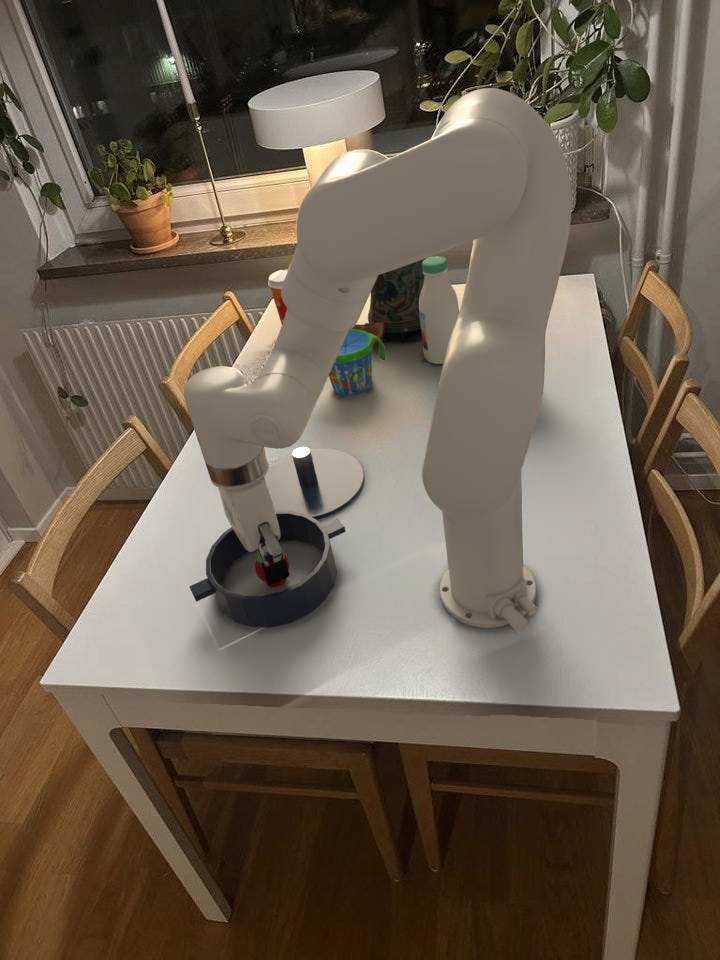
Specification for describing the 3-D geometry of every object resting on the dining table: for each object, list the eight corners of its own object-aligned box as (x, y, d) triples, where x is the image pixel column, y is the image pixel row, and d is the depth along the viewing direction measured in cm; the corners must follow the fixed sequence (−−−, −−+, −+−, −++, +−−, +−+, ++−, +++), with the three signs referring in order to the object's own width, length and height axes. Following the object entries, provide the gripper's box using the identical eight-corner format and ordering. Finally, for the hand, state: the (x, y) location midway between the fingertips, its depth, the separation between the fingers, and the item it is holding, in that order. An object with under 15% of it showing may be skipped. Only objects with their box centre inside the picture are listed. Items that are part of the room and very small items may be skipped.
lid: (384, 493, 118) (378, 457, 113) (280, 541, 112) (269, 505, 108) (335, 440, 131) (327, 407, 127) (239, 481, 126) (228, 447, 122)
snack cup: (378, 364, 150) (371, 319, 144) (400, 386, 142) (393, 339, 136) (307, 389, 147) (296, 344, 141) (326, 413, 139) (315, 366, 133)
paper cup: (284, 326, 171) (271, 269, 162) (316, 324, 169) (304, 266, 161) (277, 343, 165) (262, 284, 156) (310, 340, 163) (297, 281, 155)
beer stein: (447, 338, 154) (436, 219, 139) (355, 350, 157) (335, 234, 141) (442, 304, 167) (431, 192, 152) (357, 315, 170) (338, 206, 154)
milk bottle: (469, 349, 149) (462, 253, 137) (451, 367, 144) (442, 270, 132) (435, 343, 153) (425, 250, 141) (417, 361, 148) (405, 267, 136)
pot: (375, 583, 102) (368, 553, 99) (222, 659, 96) (209, 629, 92) (322, 517, 115) (315, 488, 112) (185, 580, 109) (172, 551, 105)
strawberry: (298, 582, 104) (289, 553, 101) (267, 597, 103) (257, 568, 99) (285, 562, 108) (276, 534, 104) (255, 577, 106) (245, 548, 103)
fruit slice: (346, 352, 156) (342, 331, 153) (352, 337, 161) (348, 316, 158) (385, 350, 154) (381, 328, 151) (389, 335, 159) (386, 313, 156)
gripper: (188, 440, 98) (220, 535, 108) (232, 510, 85) (263, 609, 96) (241, 420, 100) (267, 515, 110) (291, 486, 87) (315, 585, 98)
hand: (265, 558), depth 103 cm, fingers open, 9 cm apart
